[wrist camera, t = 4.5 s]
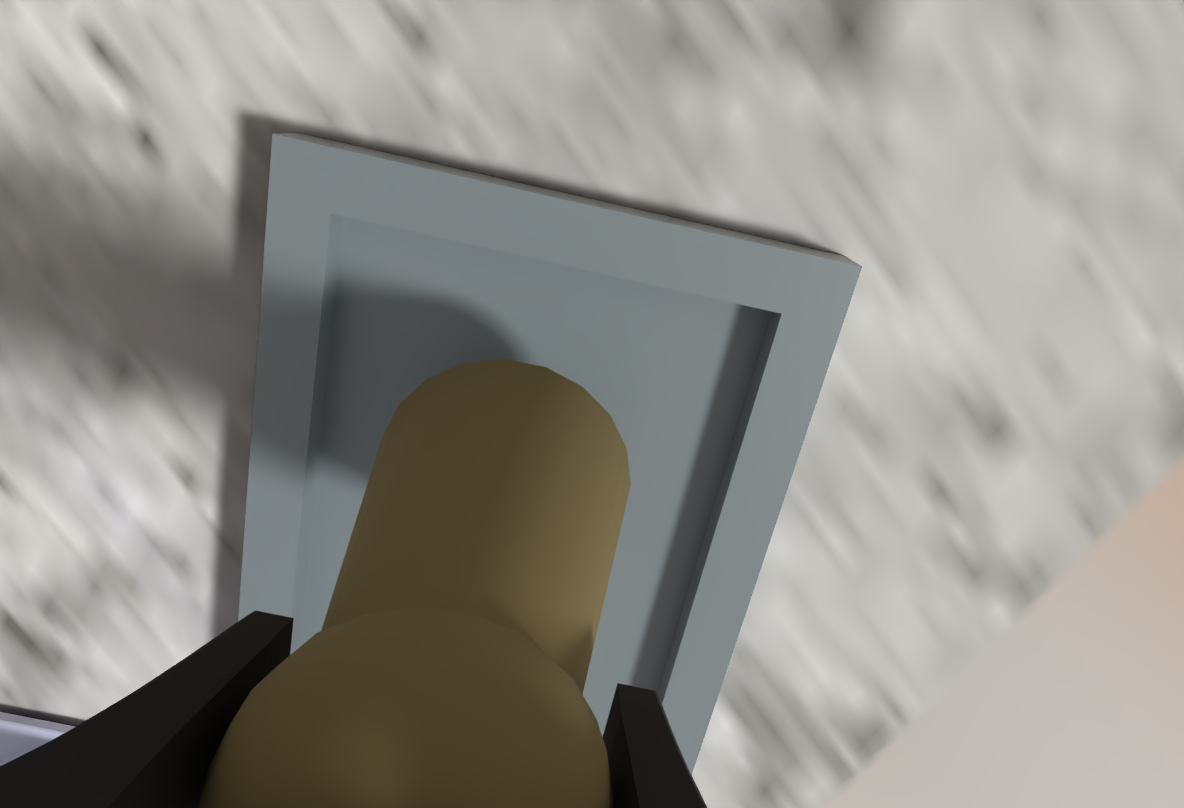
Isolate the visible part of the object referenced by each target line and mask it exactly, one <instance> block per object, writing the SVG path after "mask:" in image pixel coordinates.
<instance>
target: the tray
mask: <svg viewBox="0 0 1184 808" xmlns="http://www.w3.org/2000/svg"><path fill="white" fill-rule="evenodd" d="M861 268H862V266H860V265H859V264H857V263H855V262H854V261H852V260H851V259H849V258H847V257H846V256H843V255H838V254H834V253H829V252H825V251H820V250H816V249H811V248H807V247H803V246H798V245H794V244H789V243H785V242H780V241H776V240H772V239H767V238H763V237H758V236H754V235H749V234H745V233H741V232H736V231H732V230H727V229H723V228H718V227H714V226H709V225H705V224H701V223H696V222H692V221H687V220H683V219H678V218H674V217H670V216H665V215H661V214H656V213H652V212H647V211H643V210H639V209H634V208H630V207H625V206H621V205H616V204H612V203H607V202H603V201H599V200H594V199H590V198H585V197H581V196H576V195H572V194H568V193H563V192H559V191H554V190H550V189H545V188H541V187H537V186H532V185H528V184H523V183H519V182H514V181H510V180H505V179H501V178H497V177H492V176H488V175H483V174H479V173H474V172H470V171H466V170H461V169H457V168H452V167H448V166H443V165H439V164H435V163H430V162H426V161H421V160H417V159H412V158H408V157H403V156H399V155H395V154H390V153H386V152H381V151H377V150H372V149H368V148H364V147H359V146H355V145H350V144H346V143H341V142H337V141H333V140H328V139H324V138H319V137H315V136H310V135H306V134H302V133H280V134H272V145H271V160H270V174H269V188H268V202H267V216H266V230H265V245H264V259H263V273H262V287H261V301H260V315H259V329H258V344H257V358H256V372H255V386H254V400H253V414H252V429H251V443H250V457H249V471H248V485H247V499H246V514H245V528H244V542H243V556H242V570H241V584H240V598H239V613H238V621H240V620H241V619H243V618H244V617H246V616H247V615H249V614H250V613H252V612H254V611H255V610H256V611H261V612H266V613H271V614H276V615H281V616H286V617H291V618H294V621H293V631H292V641H291V651H290V655H291V654H292V653H293V652H295V651H296V650H297V649H298V648H299V647H300V646H302V645H303V644H304V643H305V642H306V641H308V640H309V639H310V638H311V637H312V636H313V635H315V634H316V633H318V632H320V631H321V629H322V626H323V623H324V620H325V617H326V614H327V610H328V607H329V604H330V601H331V598H332V595H333V591H334V588H335V585H336V582H337V579H338V576H339V572H340V569H341V566H342V563H343V560H344V557H345V553H346V550H347V547H348V544H349V541H350V538H351V534H352V531H353V528H354V525H355V522H356V519H357V515H358V512H359V509H360V506H361V503H362V500H363V496H364V493H365V490H366V487H367V484H368V481H369V477H370V474H371V471H372V468H373V465H374V462H375V459H376V455H377V452H378V449H379V446H380V443H381V440H382V437H383V435H384V433H385V431H386V429H387V427H388V425H389V423H390V421H391V419H392V417H393V415H394V413H395V411H396V409H397V407H398V405H399V404H400V403H401V402H402V401H403V400H405V399H406V398H407V397H408V396H409V395H410V394H411V393H412V392H413V391H414V390H415V389H416V388H418V387H419V386H420V385H421V384H422V383H423V382H424V381H425V380H426V379H428V378H430V377H433V376H435V375H437V374H439V373H442V372H444V371H446V370H449V369H451V368H453V367H455V366H458V365H460V364H462V363H469V362H479V361H489V360H498V359H508V360H513V361H518V362H523V363H528V364H533V365H538V366H543V367H547V368H549V369H550V370H552V371H554V372H556V373H558V374H560V375H562V376H564V377H565V378H567V379H569V380H571V381H573V382H575V383H577V384H579V385H580V386H582V387H583V388H584V389H585V390H586V391H587V392H588V393H589V394H590V395H591V396H592V397H593V398H594V399H595V400H596V401H597V402H598V403H599V404H600V405H601V406H602V407H603V408H604V409H605V410H606V411H607V412H608V413H609V414H610V415H611V417H612V419H613V421H614V423H615V425H616V428H617V430H618V432H619V434H620V436H621V438H622V440H623V442H624V444H625V446H626V448H627V454H628V463H629V472H630V481H631V486H630V491H629V495H628V499H627V504H626V508H625V512H624V517H623V521H622V525H621V530H620V534H619V538H618V543H617V547H616V552H615V556H614V560H613V565H612V569H611V573H610V578H609V582H608V586H607V591H606V595H605V599H604V604H603V608H602V612H601V617H600V621H599V625H598V630H597V634H596V638H595V643H594V647H593V651H592V656H591V660H590V664H589V669H588V673H587V677H586V682H585V686H584V691H583V696H584V698H585V700H586V702H587V703H588V705H589V707H590V708H591V710H592V712H593V714H594V715H595V717H596V719H597V722H598V725H599V728H600V731H601V734H602V737H603V734H604V730H605V727H606V723H607V719H608V716H609V712H610V709H611V705H612V701H613V698H614V694H615V691H616V687H617V683H619V684H624V685H629V686H634V687H639V688H644V689H649V690H654V691H655V692H656V693H657V695H658V696H659V698H660V700H661V703H662V706H663V709H664V711H665V714H666V716H667V719H668V722H669V724H670V727H671V729H672V732H673V734H674V737H675V739H676V741H677V744H678V746H679V748H680V751H681V753H682V755H683V758H684V760H685V762H686V764H687V767H688V769H689V771H690V773H691V775H692V772H693V769H694V766H695V763H696V760H697V757H698V754H699V751H700V748H701V745H702V742H703V739H704V736H705V733H706V730H707V727H708V724H709V721H710V718H711V715H712V712H713V709H714V706H715V703H716V700H717V697H718V694H719V691H720V688H721V685H722V682H723V679H724V676H725V673H726V670H727V667H728V664H729V661H730V658H731V655H732V653H733V650H734V647H735V644H736V641H737V638H738V635H739V632H740V629H741V626H742V623H743V620H744V617H745V614H746V611H747V608H748V605H749V602H750V599H751V596H752V593H753V590H754V587H755V584H756V581H757V578H758V575H759V572H760V569H761V566H762V563H763V560H764V557H765V554H766V551H767V548H768V545H769V542H770V539H771V536H772V533H773V530H774V527H775V524H776V521H777V518H778V515H779V512H780V509H781V506H782V503H783V500H784V497H785V494H786V491H787V489H788V486H789V483H790V480H791V477H792V474H793V471H794V468H795V465H796V462H797V459H798V456H799V453H800V450H801V447H802V444H803V441H804V438H805V435H806V432H807V429H808V426H809V423H810V420H811V417H812V414H813V411H814V408H815V405H816V402H817V399H818V396H819V393H820V390H821V387H822V384H823V381H824V378H825V375H826V372H827V369H828V366H829V363H830V360H831V357H832V354H833V351H834V348H835V345H836V342H837V339H838V336H839V333H840V330H841V327H842V324H843V322H844V319H845V316H846V313H847V310H848V307H849V304H850V301H851V298H852V295H853V292H854V289H855V286H856V283H857V280H858V277H859V274H860V271H861Z"/></svg>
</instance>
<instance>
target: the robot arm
mask: <svg viewBox="0 0 1184 808" xmlns="http://www.w3.org/2000/svg"><path fill="white" fill-rule="evenodd" d="M293 621H294V618H291V617H286V616H281V615H276V614H271V613H266V612H261V611H256V610H255V611H254V612H252V613H250V614H249V615H247V616H246V617H244V618H243V619H241V620H240V621H238V622H237V623H235V624H234V625H232V626H231V627H230V628H228V629H227V630H225V631H224V632H222V633H221V634H220V635H218V636H217V637H215V638H214V639H212V640H211V641H210V642H208V643H207V644H205V645H204V646H202V647H201V648H199V649H198V650H196V651H195V652H194V653H192V654H191V655H189V656H188V657H186V658H185V659H183V660H182V661H180V662H179V663H177V664H176V665H174V666H173V667H171V668H170V669H168V670H167V671H165V672H164V673H162V674H161V675H159V676H158V677H156V678H155V679H153V680H152V681H150V682H148V683H147V684H145V685H144V686H142V687H141V688H139V689H138V690H136V691H135V692H133V693H131V694H130V695H128V696H126V697H125V698H123V699H121V700H120V701H118V702H116V703H115V704H113V705H111V706H110V707H108V708H106V709H105V710H103V711H101V712H100V713H98V714H96V715H95V716H93V717H91V718H90V719H88V720H86V721H85V722H83V723H81V724H80V725H78V726H70V725H65V724H60V723H55V722H50V721H45V720H39V719H34V718H29V717H24V716H19V715H14V714H8V713H3V712H0V808H197V807H198V804H199V800H200V796H201V792H202V789H203V785H204V781H205V778H206V774H207V770H208V767H209V765H210V763H211V761H212V759H213V757H214V755H215V753H216V751H217V749H218V747H219V745H220V743H221V741H222V739H223V737H224V735H225V733H226V731H227V729H228V728H229V726H230V724H231V722H232V720H233V719H234V717H235V716H236V714H237V712H238V711H239V709H240V708H241V706H242V704H243V703H244V701H245V699H246V698H247V696H248V695H249V693H250V691H251V690H252V689H253V688H254V687H255V686H256V685H257V684H258V683H259V682H261V681H262V680H263V679H264V678H265V677H266V676H267V675H268V674H269V673H270V672H272V671H273V670H274V669H275V668H276V667H277V666H278V665H279V664H280V663H281V662H283V661H284V660H285V659H286V658H287V657H289V656H290V651H291V641H292V631H293ZM603 741H604V744H605V747H606V750H607V756H608V763H609V770H610V777H611V784H612V791H613V806H614V808H707V806H706V804H705V802H704V800H703V798H702V796H701V794H700V792H699V790H698V788H697V786H696V784H695V782H694V780H693V778H692V775H691V773H690V771H689V769H688V767H687V764H686V762H685V760H684V758H683V755H682V753H681V751H680V748H679V746H678V744H677V741H676V739H675V737H674V734H673V732H672V729H671V727H670V724H669V722H668V719H667V716H666V714H665V711H664V709H663V706H662V703H661V700H660V698H659V696H658V695H657V693H656V692H655V691H654V690H649V689H644V688H639V687H634V686H629V685H624V684H619V683H617V687H616V691H615V694H614V698H613V701H612V705H611V709H610V712H609V716H608V719H607V723H606V727H605V730H604V734H603Z"/></svg>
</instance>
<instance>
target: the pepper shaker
mask: <svg viewBox="0 0 1184 808" xmlns="http://www.w3.org/2000/svg"><path fill="white" fill-rule="evenodd" d="M630 486H631V481H630V472H629V463H628V454H627V448H626V446H625V444H624V442H623V440H622V438H621V436H620V434H619V432H618V430H617V428H616V425H615V423H614V421H613V419H612V417H611V415H610V414H609V413H608V412H607V411H606V410H605V409H604V408H603V407H602V406H601V405H600V404H599V403H598V402H597V401H596V400H595V399H594V398H593V397H592V396H591V395H590V394H589V393H588V392H587V391H586V390H585V389H584V388H583V387H582V386H580V385H579V384H577V383H575V382H573V381H571V380H569V379H567V378H565V377H564V376H562V375H560V374H558V373H556V372H554V371H552V370H550V369H549V368H547V367H543V366H538V365H533V364H528V363H523V362H518V361H513V360H508V359H498V360H489V361H479V362H469V363H462V364H460V365H458V366H455V367H453V368H451V369H449V370H446V371H444V372H442V373H439V374H437V375H435V376H433V377H430V378H428V379H426V380H425V381H424V382H423V383H422V384H421V385H420V386H419V387H418V388H416V389H415V390H414V391H413V392H412V393H411V394H410V395H409V396H408V397H407V398H406V399H405V400H403V401H402V402H401V403H400V404H399V405H398V407H397V409H396V411H395V413H394V415H393V417H392V419H391V421H390V423H389V425H388V427H387V429H386V431H385V433H384V435H383V437H382V440H381V443H380V446H379V449H378V452H377V455H376V459H375V462H374V465H373V468H372V471H371V474H370V477H369V481H368V484H367V487H366V490H365V493H364V496H363V500H362V503H361V506H360V509H359V512H358V515H357V519H356V522H355V525H354V528H353V531H352V534H351V538H350V541H349V544H348V547H347V550H346V553H345V557H344V560H343V563H342V566H341V569H340V572H339V576H338V579H337V582H336V585H335V588H334V591H333V595H332V598H331V601H330V604H329V607H328V610H327V614H326V617H325V620H324V623H323V626H322V629H321V631H320V632H318V633H316V634H315V635H313V636H312V637H311V638H310V639H309V640H308V641H306V642H305V643H304V644H303V645H302V646H300V647H299V648H298V649H297V650H296V651H295V652H293V653H292V654H291V655H290V656H289V657H287V658H286V659H285V660H284V661H283V662H281V663H280V664H279V665H278V666H277V667H276V668H275V669H274V670H273V671H272V672H270V673H269V674H268V675H267V676H266V677H265V678H264V679H263V680H262V681H261V682H259V683H258V684H257V685H256V686H255V687H254V688H253V689H252V690H251V691H250V693H249V695H248V696H247V698H246V699H245V701H244V703H243V704H242V706H241V708H240V709H239V711H238V712H237V714H236V716H235V717H234V719H233V720H232V722H231V724H230V726H229V728H228V729H227V731H226V733H225V735H224V737H223V739H222V741H221V743H220V745H219V747H218V749H217V751H216V753H215V755H214V757H213V759H212V761H211V763H210V765H209V767H208V770H207V774H206V778H205V781H204V785H203V789H202V792H201V796H200V800H199V804H198V807H197V808H614V806H613V791H612V784H611V777H610V770H609V763H608V756H607V750H606V747H605V744H604V741H603V737H602V734H601V731H600V728H599V725H598V722H597V719H596V717H595V715H594V714H593V712H592V710H591V708H590V707H589V705H588V703H587V702H586V700H585V698H584V696H583V691H584V686H585V682H586V677H587V673H588V669H589V664H590V660H591V656H592V651H593V647H594V643H595V638H596V634H597V630H598V625H599V621H600V617H601V612H602V608H603V604H604V599H605V595H606V591H607V586H608V582H609V578H610V573H611V569H612V565H613V560H614V556H615V552H616V547H617V543H618V538H619V534H620V530H621V525H622V521H623V517H624V512H625V508H626V504H627V499H628V495H629V491H630Z"/></svg>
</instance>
